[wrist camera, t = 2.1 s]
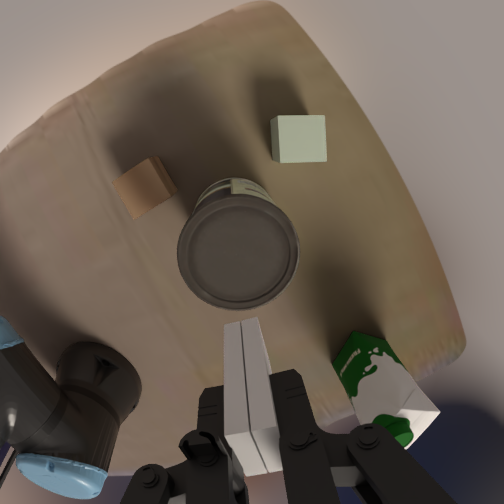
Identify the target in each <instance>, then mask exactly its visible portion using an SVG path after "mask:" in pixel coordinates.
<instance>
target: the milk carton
mask: <svg viewBox="0 0 504 504" xmlns="http://www.w3.org/2000/svg"><path fill="white" fill-rule="evenodd" d="M332 366H333V368H334V369H335V371H336V373H337V375H338V377H339V379H340V381H341V382H342V384H343V386H344V388H345V390H346V393H347V395H348V397H349V399H350V402H351V404H352V406H353V408H354V411H355V413H356V415H357V417H358V420H359V422H360V424H361V425H363V424H367V423H375V424H379V425H381V426H383V427H384V428H386V429H387V430H388V431H389V432H390V433H391V434H392V436H393V437H394V438H395V439H396V440H397V441H398V442H399V443H400V444H401V445H402V446H403V447H404V448H405V449H407V448H408V447H409V446H410V445H411V444H412V443H413V442H414V441H415V440H416V439H417V438H418V437H419V436H420V435H421V434H422V433H423V431H424V430H425V429H426V428H427V427H428V426H429V425H430V424H431V422H432V421H433V420H434V419H435V418H436V417H437V416H438V414H439V413H440V411H439V410H438V409H437V407H436V406H435V405H434V404H433V403H432V402H431V401H430V400H429V399H428V397H427V396H426V395H425V394H424V393H423V392H422V391H421V390H420V388H419V387H418V385H417V384H416V382H415V381H414V380H413V378H412V377H411V375H410V374H409V373H408V371H407V370H406V368H405V367H404V365H403V364H402V363H401V361H400V360H399V359H398V357H397V356H396V354H395V353H394V352H393V350H392V348H391V347H390V345H389V344H388V342H387V341H386V340H383V339H380V338H376V337H373V336H369V335H366V334H363V333H359V332H356V331H353V332H352V334H351V335H350V337H349V339H348V340H347V342H346V343H345V345H344V347H343V348H342V350H341V351H340V353H339V355H338V356H337V358H336V359H335V361H334V362H333V364H332Z"/></svg>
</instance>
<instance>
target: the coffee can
mask: <svg viewBox="0 0 504 504" xmlns="http://www.w3.org/2000/svg"><path fill="white" fill-rule="evenodd" d="M299 259H300V244H299V239H298V236H297V233H296V230H295V228H294V226H293V224H292V222H291V221H290V220H289V218H288V217H287V216H286V215H285V213H284V212H282V211H281V210H280V209H279V208H278V207H277V205H276V204H275V203H274V202H273V200H272V199H271V198H270V196H269V195H268V193H267V192H266V191H265V190H264V189H263V188H262V187H261V186H259V185H258V184H256V183H255V182H253V181H250V180H247V179H243V178H227V179H223V180H220V181H218V182H215V183H214V184H212V185H211V186H209V187H208V188H207V189H206V190H205V191H204V192H203V193H202V194H201V196H200V197H199V199H198V201H197V204H196V206H195V209H194V211H193V213H192V215H191V217H190V218H189V219H188V220H187V222H186V224H185V225H184V227H183V229H182V231H181V234H180V237H179V240H178V245H177V260H178V266H179V270H180V273H181V275H182V277H183V279H184V281H185V283H186V284H187V286H188V287H189V288H190V290H191V291H192V292H193V293H194V294H195V295H196V296H197V297H198V298H200V299H201V300H203V301H204V302H206V303H208V304H210V305H212V306H215V307H217V308H220V309H224V310H231V311H244V310H251V309H255V308H258V307H261V306H263V305H266V304H268V303H269V302H271V301H273V300H274V299H276V298H277V297H278V296H279V295H281V294H282V293H283V292H284V291H285V290H286V288H287V287H288V286H289V284H290V283H291V281H292V280H293V278H294V276H295V274H296V271H297V268H298V264H299Z"/></svg>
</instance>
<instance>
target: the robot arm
mask: <svg viewBox="0 0 504 504" xmlns="http://www.w3.org/2000/svg"><path fill="white" fill-rule="evenodd" d="M241 322H242V326H241V323H240V321H238V322H234V323H229V324H225V325H224V385H222V386H216V387H211V388H205V389H204V391H203V393H202V394H201V396H200V398H199V407H198V408H199V410H198V421H197V429H196V430H193V431H191V432H189V433H187V434H186V435H185V436H184V437H183V438H182V439H181V441H180V443H179V448H180V449H181V451H182V452H183V454H184V455H185V456H186V458H187V460H186V461H184V462H182V463H180V464H178V465H175V466H172V467H169V468H166V469H164V468H163V467H162V466H160V465H157V464H148V465H145V466H142V467H141V468H139V469H138V470H137V471H136V472H135V474H134V475H133V477H132V479H131V481H130V483H129V485H128V488H127V489H126V492H125V494H124V496H123V498H122V500H121V502H120V504H249V496H248V489H247V486H246V484H245V482H244V474H243V471H244V473H245V475H246V476H252V475H259V474H265V473H267V469H268V471H269V473H270V472H275V471H280V470H283V474H284V480H285V486H286V492H287V498H288V504H340V501H339V497H338V493H337V490H336V487H337V486H339V487H340V486H341V487H344V486H351V487H352V489H353V490H354V492H355V493H356V495H357V496H358V497H359V499H360V500H361V502H362V503H363V504H457V503H456V502H455V501H454V500H453V499H452V498H451V497H450V496H449V495H448V494H447V493H446V492H445V491H444V489H443V488H442V487H441V486H440V485H439V484H438V483H437V482H436V481H435V480H434V479H433V478H432V477H431V476H430V475H429V474H428V473H427V472H426V471H425V470H424V469H423V467H422V466H421V465H420V464H419V463H418V462H417V461H416V460H415V459H414V458H413V457H412V456H411V455H410V454H409V453H408V452H407V450H406V449H405V448H404V447H403V446H402V445H401V444H400V443H399V442H398V441H397V440H396V439H395V438H394V437H393V436H392V434H391V433H390V432H389V431H388V430H387V429H386V428H384V427H383V426H381V425H379V424H375V423H367V424H363V425H360V426H357V427H356V428H355V429H354V430H352V431H351V432H350V434H330V433H327V432H325V431H323V430H321V429H320V428H319V427H318V426H317V424H316V422H315V419H314V416H313V412H312V409H311V406H310V403H309V399H308V396H307V393H306V389H305V386H304V383H303V380H302V376H301V375H300V374H299V373H298V372H297V371H296V370H294V369H291V370H287V371H283V372H279V373H274V374H272V372H271V367H270V361H269V358H268V354H267V350H266V347H265V343H264V339H263V336H262V332H261V328H260V325H259V321H258V317H255V318H251V319H247V320H242V321H241ZM56 374H57V375H56V379H55V381H54V379H53V378H52V377H51V376H50V375H49V374H48V372H47V371H46V370H45V369H44V367H43V366H42V365H41V364H40V363H39V361H38V360H37V359H36V357H35V356H34V355H33V354H32V352H31V351H30V350H29V348H28V347H27V346H26V344H25V343H24V339H23V338H21V337H20V336H19V335H18V334H17V332H16V331H15V330H14V328H13V327H12V326H11V324H10V323H9V322H8V321H7V319H5V318H4V317H2V316H0V449H1V448H2V446H3V445H4V444H5V442H8V443H9V444H10V445H11V446H12V447H13V448H14V449H15V450H16V451H17V452H18V453H19V454H18V455H17V456H16V466H17V468H18V469H19V470H20V472H21V473H22V474H23V475H25V477H27V478H28V479H29V480H31V481H32V482H34V483H35V484H37V485H39V486H41V487H43V488H45V489H47V490H49V491H52V492H54V493H57V494H60V495H63V496H66V497H71V498H76V499H90V498H93V497H96V496H97V495H98V494H99V493H100V492H101V489H102V486H103V483H104V481H105V478H106V477H107V473H108V469H109V465H110V461H111V457H112V453H113V449H114V446H115V442H116V438H117V435H118V431H119V428H120V425H121V424H122V423H123V421H124V420H125V419H126V418H127V417H128V415H129V414H130V413H131V412H132V411H133V410H134V409H135V408H136V406H137V404H138V402H139V399H140V395H141V391H142V385H141V380H140V378H139V375H138V373H137V372H136V370H135V369H134V367H133V366H132V365H131V364H130V363H129V362H128V361H127V360H126V359H125V358H124V357H123V356H121V355H120V354H119V353H117V352H116V351H114V350H112V349H110V348H108V347H106V346H103V345H100V344H97V343H92V342H79V343H75V344H72V345H71V346H69V347H68V348H67V349H66V350H65V351H64V352H63V354H62V355H61V357H60V359H59V361H58V363H57V369H56Z"/></svg>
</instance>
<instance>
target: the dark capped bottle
mask: <svg viewBox="0 0 504 504" xmlns="http://www.w3.org/2000/svg"><path fill="white" fill-rule="evenodd" d="M10 446H11V445H10V444H9V443H8V442H5V444H4V445H3V446H2V448H1V449H0V466H1V464H2V462H3V460H4V458H5V456H6V454H7V452H8V450H9V448H10ZM17 455H18V452H17V451H16V450H15V449H14V451H13V453H12V455H11V457H10V458H9V460H8V462H7V464H6V466H5V468H4V470H3V472H2V474H1V476H0V488H1V486H2V484H3V482H4V480H5V478H6V476H7V474H8V472H9V470H10V468H11V466H12V464H13V462H14V460H15V458H16V456H17Z"/></svg>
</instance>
